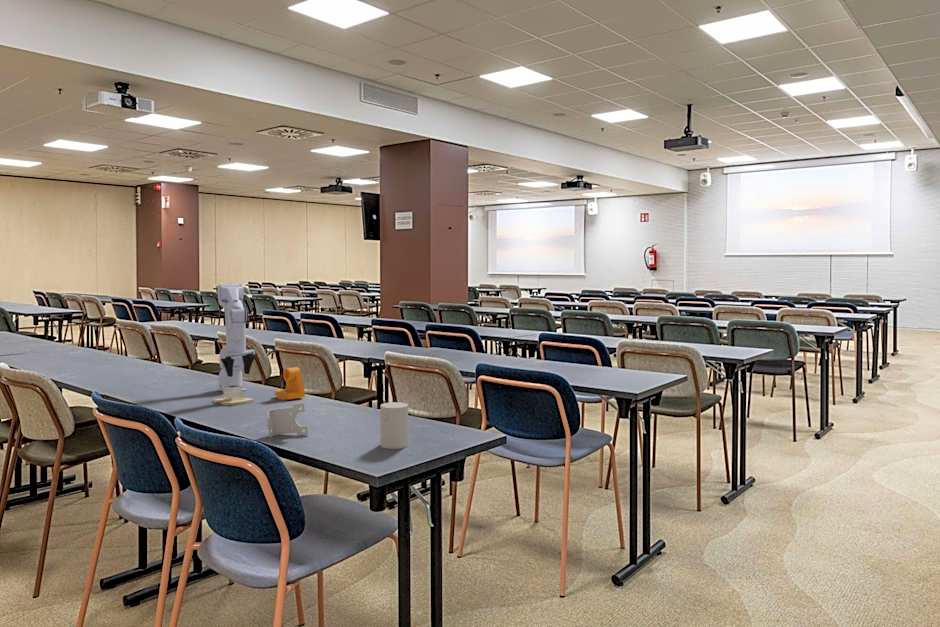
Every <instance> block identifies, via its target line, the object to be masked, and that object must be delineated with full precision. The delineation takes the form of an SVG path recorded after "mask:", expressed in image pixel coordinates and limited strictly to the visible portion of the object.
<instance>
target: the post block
mask: <svg viewBox="0 0 940 627" xmlns="http://www.w3.org/2000/svg"><path fill="white" fill-rule="evenodd" d="M230 387H235V386H230ZM254 402H255V399H254V398H249V397H244V396H243V399H241V400H236V401H228V400H224V396H223V397H218V398H214V399H213V398H212V399H211V403H213V404H214V403H215V404H220V405H225V406H230V407H235V406H238V405H239V406H240V405H244V404H249V403H254Z"/></svg>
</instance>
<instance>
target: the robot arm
mask: <svg viewBox="0 0 940 627" xmlns="http://www.w3.org/2000/svg"><path fill="white" fill-rule="evenodd" d="M244 292H245V291H244V285H243V284H242V283H239V284H236V283H235V284H232V283H230V284H229V283H228V284H225V283H224V284H221V283H219V284H218V285H217V302H218V305H219V306H221V307H223V310H224V311H223V312H224V322H225V340H226V341H225V342H226V344H225V346H224V347H223V348H221V349H220V352H219V368H220V369H221V370H219V373H218V388H217V389H216V390H217V391H220V392H223V387H224V386H230V385H238V386H243V373H244V374H245V375H250V371H251V367H252V365H253V363H254V361H255V359H256V349H254V348H253V349H251V348H250V349H247V338H246V337H247V336H246V335H247V333H246V332H247V331H246V330H247V329H246V327H247V326H246V324H247V321H248V312H247V309H246V308H245V307H244V305H243V301H244V300H243V299H244V297H245V296H244V294H245V293H244ZM243 371H244V372H243ZM247 390H248V389H247V388H244V387H243V392H244V391H247Z"/></svg>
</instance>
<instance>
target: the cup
mask: <svg viewBox="0 0 940 627" xmlns="http://www.w3.org/2000/svg"><path fill="white" fill-rule="evenodd" d="M379 408H380V412H379V413H380V415H379V416H380V447H381V448H384V449H388V450H389V449H390V450H391V449H392V450H393V449H394V450H397V449H403V448H407V447H408V446H409V404H408V403H405V402H398V401H394V402H393V401H392V402H390V401H389V402H385V403H381V404H380V407H379Z"/></svg>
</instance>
